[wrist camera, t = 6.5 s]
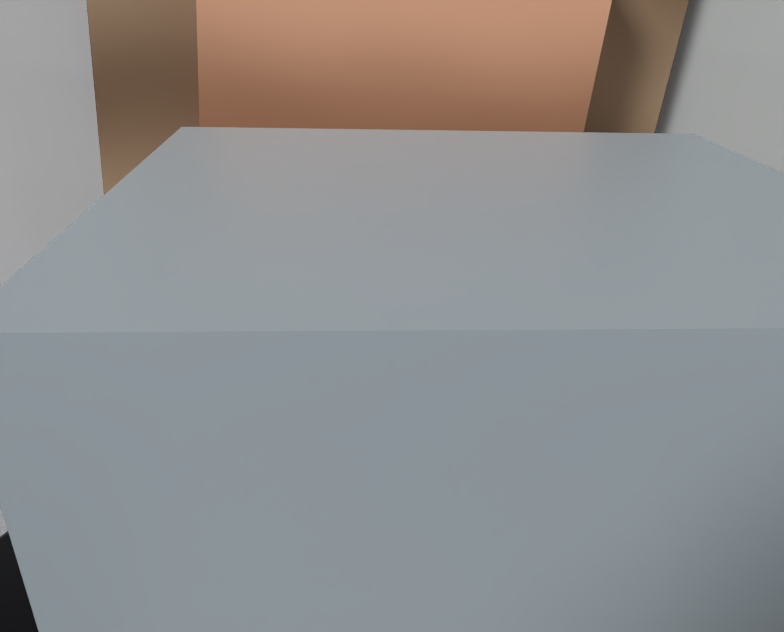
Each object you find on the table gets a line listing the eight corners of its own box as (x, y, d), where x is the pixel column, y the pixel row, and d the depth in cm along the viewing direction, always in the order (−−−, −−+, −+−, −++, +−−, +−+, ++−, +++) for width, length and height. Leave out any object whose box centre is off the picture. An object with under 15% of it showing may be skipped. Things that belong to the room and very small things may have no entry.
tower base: (578, 368, 22) (625, 444, 18) (129, 345, 20) (83, 423, 17) (708, -152, 16) (818, -194, 12) (81, -238, 14) (-8, -315, 11)
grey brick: (589, 605, 12) (742, 998, 7) (236, 617, 11) (162, 1041, 7) (693, 133, 8) (1131, 327, 4) (181, 126, 8) (-52, 333, 3)
